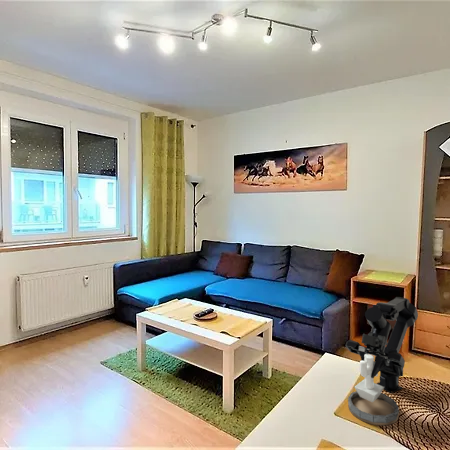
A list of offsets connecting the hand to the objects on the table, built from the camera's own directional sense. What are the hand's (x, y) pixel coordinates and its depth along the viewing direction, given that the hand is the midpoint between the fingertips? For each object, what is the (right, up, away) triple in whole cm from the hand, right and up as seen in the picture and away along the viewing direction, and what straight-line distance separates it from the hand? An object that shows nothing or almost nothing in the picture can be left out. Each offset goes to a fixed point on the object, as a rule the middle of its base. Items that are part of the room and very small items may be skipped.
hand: (367, 376), depth 113 cm
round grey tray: (+3, -13, +2) cm, 13 cm away
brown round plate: (+3, -13, +2) cm, 13 cm away
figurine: (+1, -8, +2) cm, 8 cm away
